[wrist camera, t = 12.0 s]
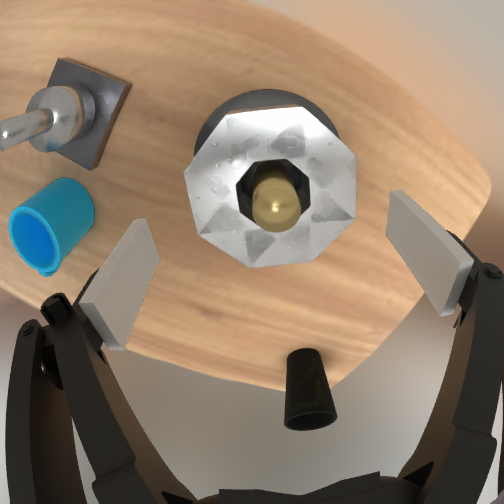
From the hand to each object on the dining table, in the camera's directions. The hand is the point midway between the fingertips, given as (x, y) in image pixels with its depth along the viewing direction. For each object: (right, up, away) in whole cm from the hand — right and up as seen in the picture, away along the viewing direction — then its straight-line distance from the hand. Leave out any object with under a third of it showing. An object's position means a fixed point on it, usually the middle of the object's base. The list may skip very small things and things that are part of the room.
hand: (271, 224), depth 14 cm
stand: (-20, +14, +9) cm, 26 cm away
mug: (-25, +3, +16) cm, 30 cm away
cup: (+8, -19, +30) cm, 36 cm away
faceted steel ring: (+1, +4, +7) cm, 8 cm away
